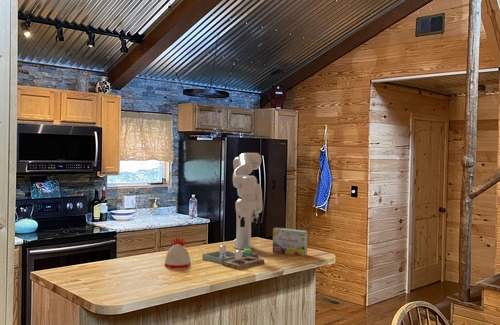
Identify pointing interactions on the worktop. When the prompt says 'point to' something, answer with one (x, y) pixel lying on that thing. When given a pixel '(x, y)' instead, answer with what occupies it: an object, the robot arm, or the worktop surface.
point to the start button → (247, 251)
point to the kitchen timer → (177, 255)
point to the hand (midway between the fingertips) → (247, 227)
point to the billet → (222, 251)
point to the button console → (250, 255)
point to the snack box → (290, 241)
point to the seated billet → (238, 256)
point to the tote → (215, 257)
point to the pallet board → (243, 262)
